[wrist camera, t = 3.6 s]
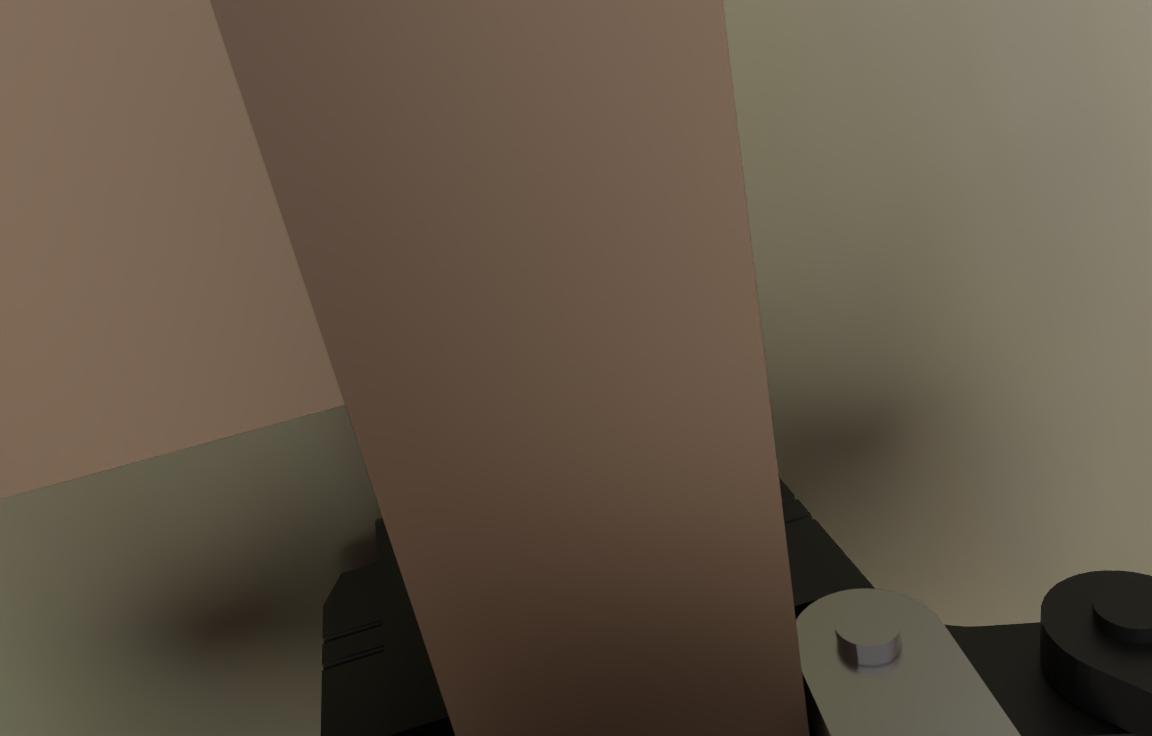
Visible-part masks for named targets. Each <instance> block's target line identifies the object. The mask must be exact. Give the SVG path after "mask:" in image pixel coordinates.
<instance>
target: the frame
mask: <svg viewBox="0 0 1152 736" xmlns="http://www.w3.org/2000/svg"><path fill="white" fill-rule="evenodd" d="M343 405H345V407H346V410H347V413H348V416H349V419H350V422H351V425H352V428H353V431H354V434H355V437H356V440H357V443H358V446H359V449H360V452H361V455H362V458H363V461H364V464H365V467H366V470H367V473H368V476H369V479H370V482H371V485H372V488H373V491H374V494H375V497H376V500H377V502H378V505H379V508H380V511H381V514H382V517H383V520H384V523H385V526H386V529H387V532H388V535H389V538H390V541H391V544H392V547H393V550H394V553H395V556H396V559H397V562H398V565H399V568H400V571H401V574H402V577H403V580H404V583H405V586H406V589H407V592H408V595H409V598H410V601H411V604H412V607H413V610H414V613H415V616H416V619H417V622H418V625H419V628H420V631H421V634H422V637H423V640H424V643H425V646H426V649H427V652H428V655H429V658H430V661H431V664H432V667H433V670H434V673H435V676H436V679H437V682H438V685H439V688H440V691H441V694H442V697H443V700H444V703H445V706H446V709H447V712H448V715H449V718H450V721H451V724H452V727H453V730H454V733H455V736H810V735H809V727H808V718H807V710H806V702H805V693H804V685H803V676H802V668H801V659H800V651H799V642H798V634H797V626H796V617H795V609H794V600H793V592H792V583H791V575H790V566H789V558H788V550H787V541H786V533H785V524H784V516H783V507H782V499H781V490H780V482H779V474H778V465H777V457H776V448H775V440H774V431H773V423H772V414H771V406H770V398H769V389H768V381H767V372H766V364H765V355H764V347H763V339H762V330H761V322H760V313H759V305H758V296H757V288H756V279H755V271H754V263H753V254H752V246H751V237H750V229H749V220H748V212H747V203H746V195H745V187H744V178H743V170H742V161H741V153H740V144H739V136H738V127H737V119H736V111H735V102H734V94H733V85H732V77H731V68H730V60H729V51H728V43H727V35H726V26H725V18H724V9H723V1H722V0H0V499H3V498H6V497H10V496H14V495H17V494H21V493H25V492H28V491H32V490H36V489H39V488H43V487H47V486H50V485H54V484H57V483H61V482H65V481H68V480H72V479H76V478H79V477H83V476H87V475H90V474H94V473H98V472H101V471H105V470H109V469H112V468H116V467H120V466H123V465H127V464H131V463H134V462H138V461H142V460H145V459H149V458H153V457H156V456H160V455H164V454H167V453H171V452H175V451H178V450H182V449H186V448H189V447H193V446H197V445H200V444H204V443H208V442H211V441H215V440H219V439H222V438H226V437H230V436H233V435H237V434H241V433H244V432H248V431H252V430H255V429H259V428H262V427H266V426H270V425H273V424H277V423H281V422H284V421H288V420H292V419H295V418H299V417H303V416H306V415H310V414H314V413H317V412H321V411H325V410H328V409H332V408H336V407H339V406H343Z"/></svg>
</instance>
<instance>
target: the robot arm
mask: <svg viewBox="0 0 1152 736" xmlns="http://www.w3.org/2000/svg"><path fill="white" fill-rule="evenodd" d="M779 482H780V490H781V499H782V507H783V516H784V524H785V533H786V541H787V550H788V558H789V566H790V575H791V583H792V592H793V600H794V609H795V617H796V626H797V634H798V642H799V651H800V659H801V668H802V676H803V685H804V693H805V702H806V710H807V718H808V727H809V735H810V736H1152V576H1149V575H1144V574H1140V573H1135V572H1126V571H1094V572H1087V573H1083V574H1078V575H1075V576H1072V577H1069V578H1067V579H1065V580H1063V581H1061V582H1059V583H1058V584H1056V585H1055V586H1054V587H1053V588H1052V589H1050V590H1049V592H1048V593H1047V594H1046V596H1045V597H1044V600H1043V602H1042V605H1041V623H1025V624H1010V625H995V626H976V627H963V626H951V625H944V624H943V622H942V621H941V620H940V619H939V617H938V616H937V615H936V614H935V613H934V612H933V611H932V610H930V609H929V608H928V607H927V606H925V605H924V604H922V603H920V602H919V601H917V600H915V599H913V598H910V597H908V596H906V595H903V594H900V593H896V592H893V591H887V590H882V589H875V588H874V587H873V586H872V585H871V584H870V582H869V581H868V580H867V579H866V578H865V577H864V575H863V574H862V573H861V572H860V571H859V570H858V568H857V567H856V566H855V565H854V564H853V563H852V561H851V560H850V559H849V558H848V557H847V556H846V555H845V553H844V552H843V551H842V550H841V549H840V548H839V546H838V545H837V544H836V543H835V542H834V541H833V539H832V538H831V537H830V536H829V535H828V534H827V532H826V531H825V530H824V529H823V528H822V527H821V526H820V524H819V523H818V522H817V521H816V520H815V519H814V520H812V517H811V514H810V513H809V512H808V510H807V509H806V508H805V507H804V506H803V505H802V503H801V502H800V501H799V500H795V497H794V494H793V493H792V492H791V491H790V490H789V488H788V487H787V486H786V485H785V484H784V483H783V481H782V480H781V479H780V478H779ZM375 526H376V540H377V554H378V563H375V564H371V565H368V566H365V567H361V568H358V569H355V570H351V571H348V572H344V573H342V574H341V575H340V577H339V579H338V581H337V582H336V584H335V586H334V588H333V589H332V591H331V593H330V595H329V597H328V598H327V600H326V602H325V604H324V605H323V640H324V644H323V646H322V665H323V669H324V670H323V671H322V698H321V736H455V733H454V730H453V727H452V724H451V721H450V718H449V715H448V712H447V709H446V706H445V703H444V700H443V697H442V694H441V691H440V688H439V685H438V682H437V679H436V676H435V673H434V670H433V667H432V664H431V661H430V658H429V655H428V652H427V649H426V646H425V643H424V640H423V637H422V634H421V631H420V628H419V625H418V622H417V619H416V616H415V613H414V610H413V607H412V604H411V601H410V598H409V595H408V592H407V589H406V586H405V583H404V580H403V577H402V574H401V571H400V568H399V565H398V562H397V559H396V556H395V553H394V550H393V547H392V544H391V541H390V538H389V535H388V532H387V529H386V526H385V523H384V520H383V518H380V519H376V522H375Z"/></svg>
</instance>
